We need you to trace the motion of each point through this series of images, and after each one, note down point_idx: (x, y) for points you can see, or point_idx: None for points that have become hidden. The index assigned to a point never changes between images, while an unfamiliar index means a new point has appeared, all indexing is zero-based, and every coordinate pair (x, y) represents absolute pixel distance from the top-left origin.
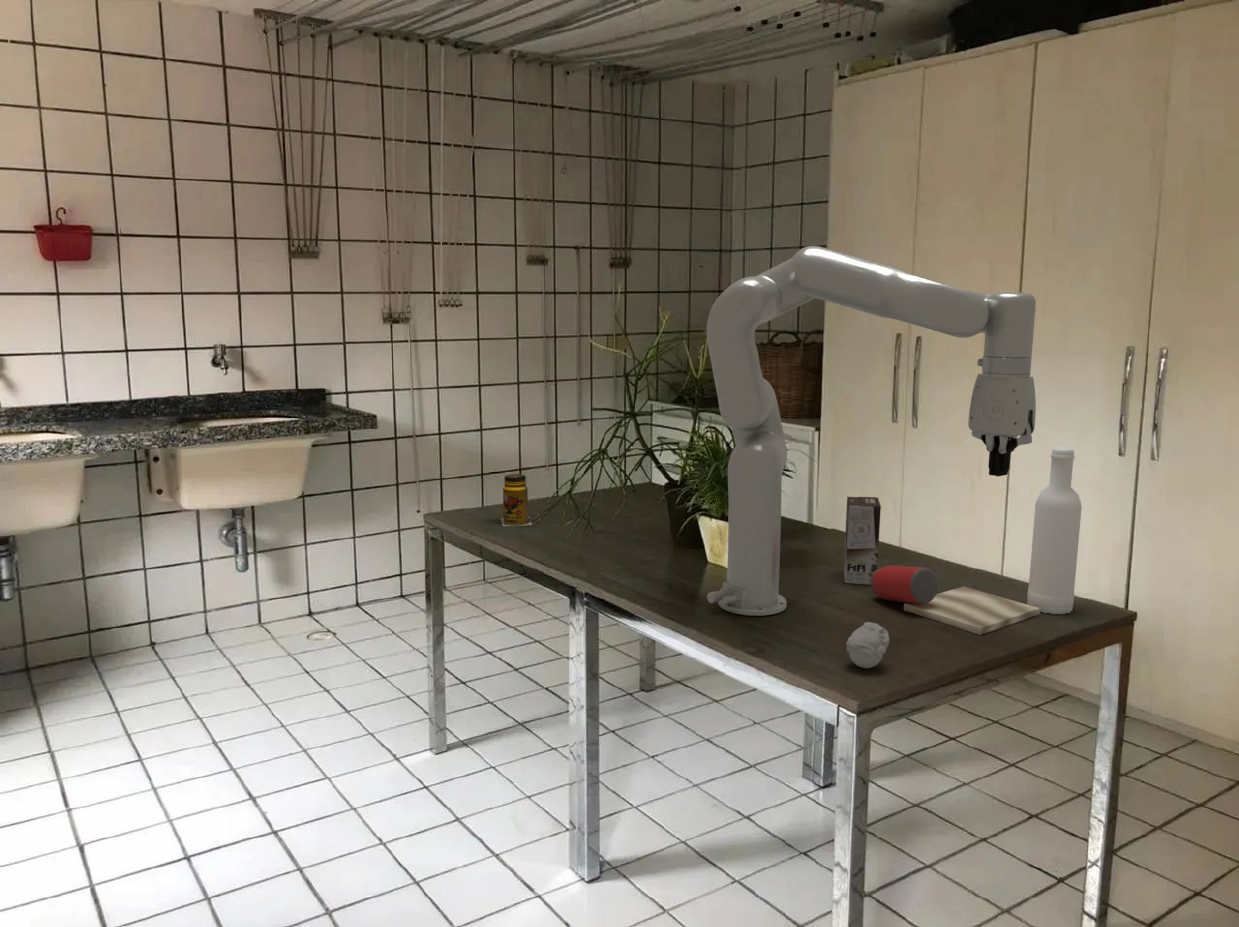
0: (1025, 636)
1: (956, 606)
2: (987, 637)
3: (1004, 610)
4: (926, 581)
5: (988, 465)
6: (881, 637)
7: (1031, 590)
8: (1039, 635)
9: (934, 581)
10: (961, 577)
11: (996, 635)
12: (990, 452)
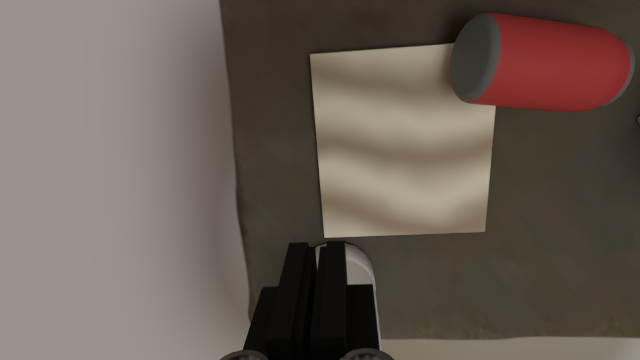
0: (264, 120)
1: (419, 122)
2: (295, 55)
3: (351, 178)
4: (472, 63)
5: (372, 289)
6: None
7: (353, 262)
8: (256, 145)
9: (464, 88)
10: (534, 291)
11: (294, 79)
12: (344, 337)
